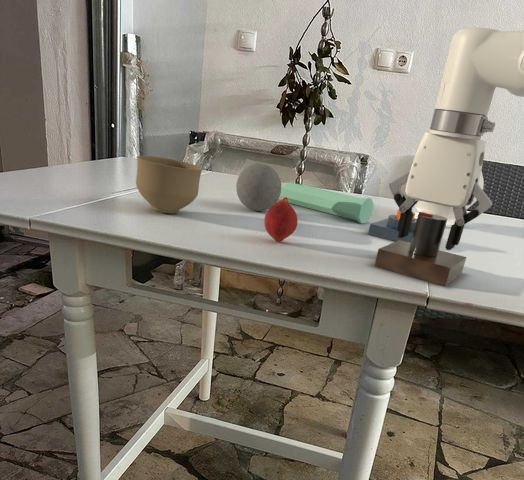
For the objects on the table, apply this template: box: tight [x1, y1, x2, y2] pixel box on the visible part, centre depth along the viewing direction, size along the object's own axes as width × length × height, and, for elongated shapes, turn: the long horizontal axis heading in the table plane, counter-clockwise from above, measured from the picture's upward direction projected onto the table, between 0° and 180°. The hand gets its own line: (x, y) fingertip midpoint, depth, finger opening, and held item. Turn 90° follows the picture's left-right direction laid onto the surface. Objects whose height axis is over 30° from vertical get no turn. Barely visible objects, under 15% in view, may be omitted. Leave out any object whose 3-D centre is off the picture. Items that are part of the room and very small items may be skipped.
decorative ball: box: [235, 163, 282, 212], centre depth 112 cm, size 10×10×10 cm
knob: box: [409, 212, 447, 257], centre depth 83 cm, size 5×5×6 cm
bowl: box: [135, 155, 203, 215], centre depth 100 cm, size 13×13×10 cm
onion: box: [264, 197, 299, 243], centre depth 89 cm, size 6×6×8 cm
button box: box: [367, 214, 417, 243], centre depth 106 cm, size 11×9×4 cm
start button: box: [395, 209, 416, 221], centre depth 105 cm, size 4×4×2 cm
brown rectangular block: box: [374, 240, 467, 287], centre depth 85 cm, size 12×10×3 cm
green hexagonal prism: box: [279, 181, 374, 224], centre depth 122 cm, size 6×6×25 cm
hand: (425, 241), depth 83 cm, fingers open, 7 cm apart
